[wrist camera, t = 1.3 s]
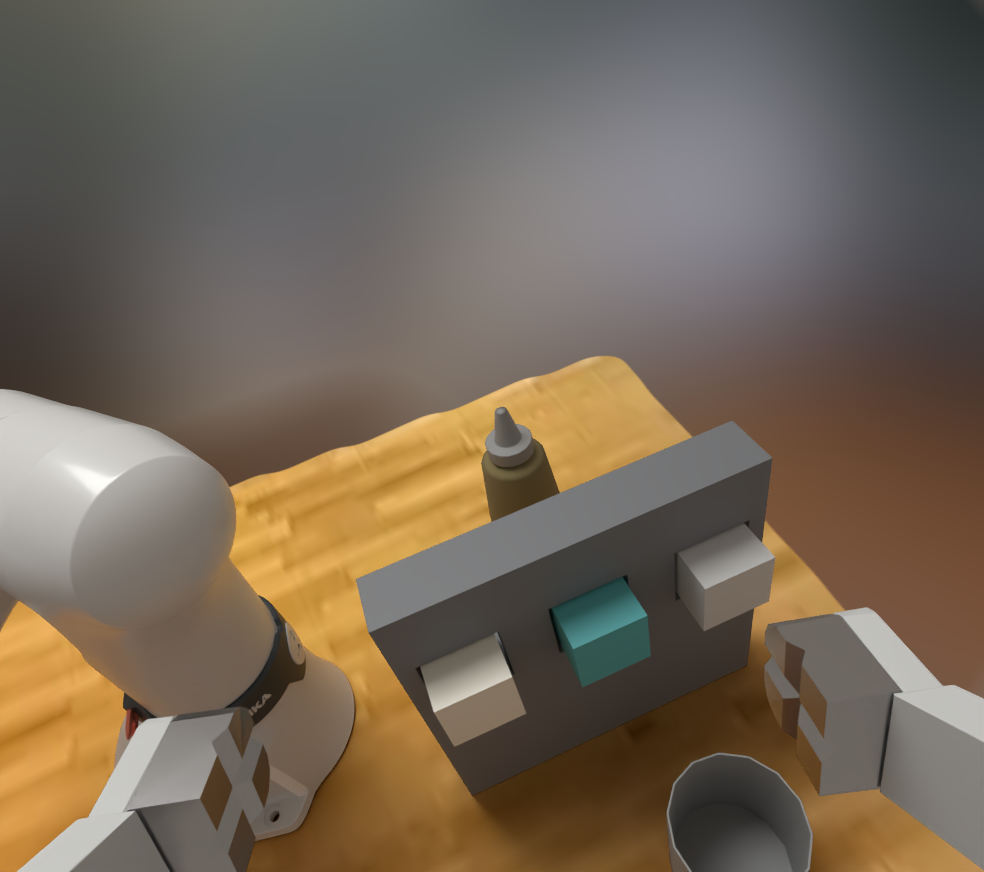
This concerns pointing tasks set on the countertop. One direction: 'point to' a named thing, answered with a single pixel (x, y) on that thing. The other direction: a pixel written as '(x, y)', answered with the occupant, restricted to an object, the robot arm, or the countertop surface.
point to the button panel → (563, 576)
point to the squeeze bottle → (514, 468)
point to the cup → (736, 819)
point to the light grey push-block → (724, 576)
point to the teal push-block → (602, 631)
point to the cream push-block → (472, 690)
